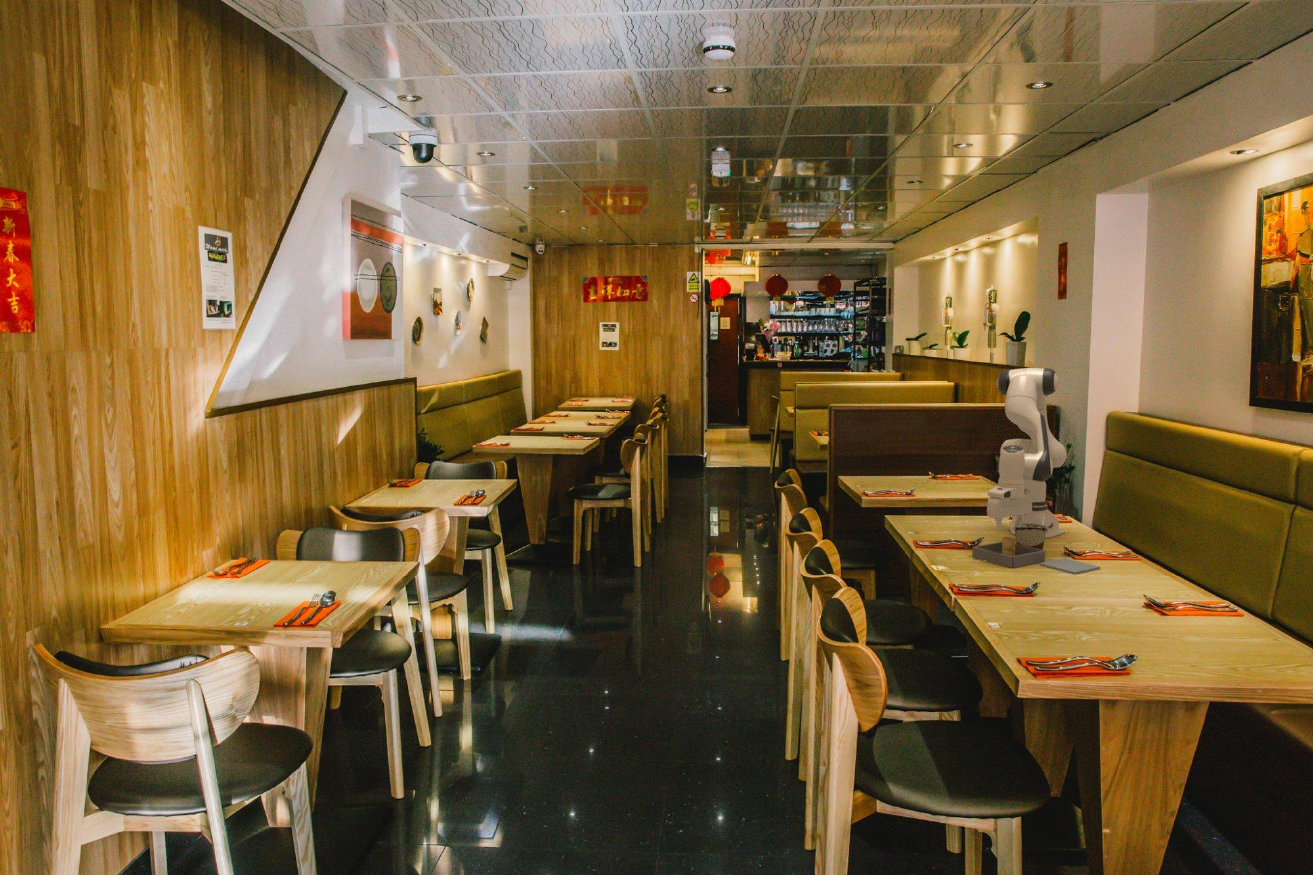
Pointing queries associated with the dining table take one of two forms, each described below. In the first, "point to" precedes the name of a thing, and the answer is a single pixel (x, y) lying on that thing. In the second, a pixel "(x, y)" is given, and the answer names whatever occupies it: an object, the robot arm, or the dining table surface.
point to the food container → (1030, 535)
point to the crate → (1022, 559)
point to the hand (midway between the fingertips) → (1009, 528)
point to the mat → (1069, 566)
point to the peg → (1008, 546)
